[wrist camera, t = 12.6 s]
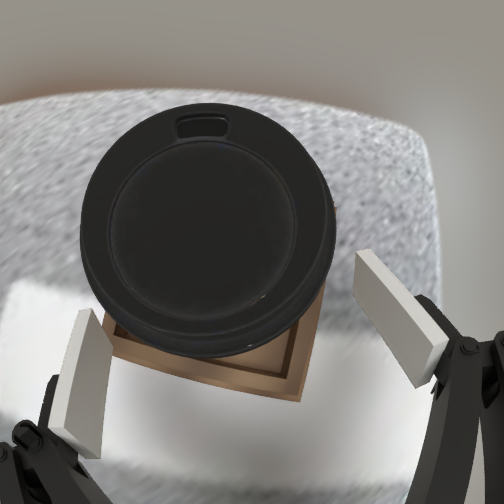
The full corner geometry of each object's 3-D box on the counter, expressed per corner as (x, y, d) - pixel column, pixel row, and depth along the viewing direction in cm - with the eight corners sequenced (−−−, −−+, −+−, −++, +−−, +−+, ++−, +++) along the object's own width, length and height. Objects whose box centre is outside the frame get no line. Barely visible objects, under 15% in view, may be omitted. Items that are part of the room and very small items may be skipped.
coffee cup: (245, 201, 25) (256, 58, 11) (306, 304, 24) (405, 260, 9) (141, 256, 24) (37, 164, 9) (197, 365, 22) (133, 417, 8)
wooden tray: (107, 350, 23) (83, 352, 19) (157, 175, 27) (145, 149, 23) (296, 398, 23) (308, 411, 19) (331, 213, 27) (348, 192, 23)
